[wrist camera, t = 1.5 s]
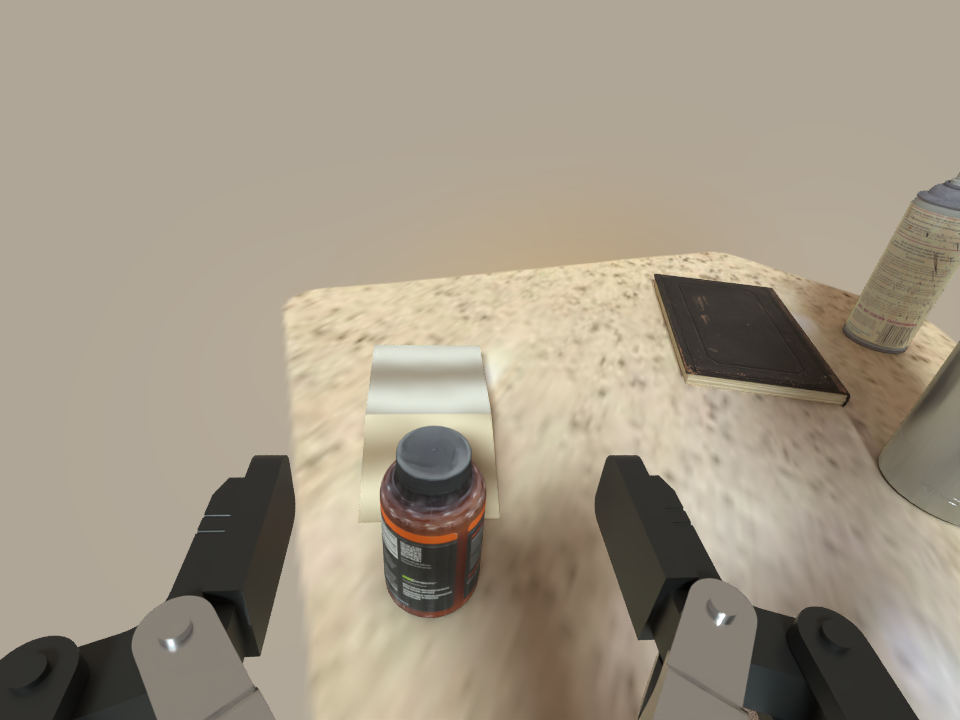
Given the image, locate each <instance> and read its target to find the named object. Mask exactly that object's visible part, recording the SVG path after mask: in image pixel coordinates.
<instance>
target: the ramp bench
mask: <svg viewBox="0 0 960 720" xmlns="http://www.w3.org/2000/svg"><path fill="white" fill-rule="evenodd" d="M425 426H443V427H447V428H451V429H453V430H456V431H458V432H459V433H461V434H462V435H463V436H464V437H465V438H466V439H467V440H468V442H469V444H470V447H471V450H472V459H471V460H472V461H473V462H474V463H475V464H476V465H477V466H478V468H479V469H480V471H481V473H482V474H483V477H484V480H485V484H486V505H485V516H484V519H498V518H500V513H499V501H498V489H497V477H496V465H495V453H494V441H493V429H492V417H491V410H490V404H489V398H488V392H487V386H486V380H485V374H484V368H483V362H482V357H481V351H480V346H437V345H374V353H373V361H372V369H371V377H370V384H369V392H368V400H367V408H366V418H365V432H364V447H363V462H362V476H361V491H360V506H359V520H358V523H361V522H381V510H380V486H381V482H382V479H383V477H384V475H385V473H386V470H387V469H388V468H389V466H390V465H391V464H392V463H393V462H394V461H395V460H396V449H397V446H398V443H399V441H400V440H401V439H402V438H403V437H404V436H405V435H406V434H407V433H409V432H411V431H413V430H415V429H418V428H421V427H425Z"/></svg>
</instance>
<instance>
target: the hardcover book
mask: <svg viewBox="0 0 960 720" xmlns="http://www.w3.org/2000/svg"><path fill="white" fill-rule="evenodd" d="M654 277H655V280H656V282H655V289H656V292H657V296H658V299H659V302H660V305H661V308H662V311H663V315H664V318H665V321H666V324H667V327H668V330H669V333H670V337H671V340H672V343H673V346H674V349H675V352H676V356H677V359H678V362H679V365H680V368H681V371H682V375H683V378H684V381H685V384H690V385H697V386H705V387H712V388H719V389H727V390H734V391H741V392H749V393H756V394H763V395H771V396H778V397H785V398H793V399H800V400H807V401H815V402H822V403H829V404H837V405H842V406H843V407H844V406H845V405H846V404H847V402H848V401H849V399H850V394H849V393H848V391H847V390H846V389H845V387H844V386H843V384H842V383H841V382H840V380H839V379H838V378H837V376H836V375H835V373H834V372H833V371H832V369H831V368H830V367H829V365H828V364H827V362H826V361H825V360H824V358H823V357H822V356H821V354H820V353H819V352H818V350H817V349H816V347H815V346H814V345H813V343H812V342H811V341H810V339H809V338H808V336H807V335H806V334H805V332H804V331H803V330H802V328H801V327H800V325H799V324H798V323H797V321H796V320H795V319H794V317H793V316H792V315H791V313H790V312H789V310H788V309H787V308H786V306H785V305H784V304H783V302H782V301H781V299H780V298H779V297H778V295H777V294H776V293H775V291H774V290H773V289H772V288H768V287H760V286H751V285H743V284H735V283H727V282H719V281H710V280H702V279H694V278H686V277H677V276H669V275H661V274H654Z"/></svg>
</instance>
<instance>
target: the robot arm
mask: <svg viewBox="0 0 960 720" xmlns="http://www.w3.org/2000/svg"><path fill="white" fill-rule="evenodd" d="M878 462H879V468H880V470H881V472H882V474H883V475H884V477H885V478H886V479H887V481H888V482H889V483H890V484H891V485H892V486H893V487H894V488H895V489H896V490H897V491H898V492H899V493H900V494H901V495H902V496H904V497H905V498H906V499H907V500H909V501H910V502H912V503H913V504H915V505H916V506H918V507H919V508H921V509H922V510H924V511H926V512H928V513H930V514H932V515H934V516H936V517H938V518H940V519H942V520H945V521H947V522H950V523H952V524H955V525H958V526H960V341H959V342H958V344H957V345H956V347H955V348H954V350H953V351H952V352H951V354H950V355H949V357H948V358H947V360H946V361H945V362H944V364H943V365H942V367H941V368H940V369H939V371H938V372H937V374H936V375H935V377H934V378H933V379H932V381H931V382H930V384H929V385H928V387H927V388H926V389H925V391H924V392H923V394H922V395H921V397H920V398H919V399H918V401H917V402H916V404H915V405H914V407H913V408H912V409H911V411H910V412H909V414H908V415H907V417H906V418H905V419H904V420H903V422H902V423H901V425H900V426H899V427H898V429H897V430H896V432H895V433H894V435H893V436H892V437H891V439H890V440H889V442H888V443H887V445H886V446H885V447H884V449H883V450H882V452H881V453H880V455H879V459H878ZM595 514H596V519H597V522H598V525H599V528H600V531H601V534H602V536H603V539H604V542H605V545H606V548H607V551H608V554H609V557H610V560H611V563H612V566H613V569H614V571H615V574H616V577H617V580H618V583H619V586H620V589H621V592H622V595H623V598H624V601H625V604H626V606H627V609H628V612H629V615H630V618H631V621H632V624H633V627H634V630H635V633H636V636H637V638H638V640H653V639H654V640H655V642H656V645H657V648H658V650H659V652H658V654H657V657H656V659H655V662H654V665H653V668H652V671H651V674H650V677H649V680H648V683H647V686H646V689H645V692H644V695H643V698H642V701H641V704H640V707H639V709H638V712H637V715H636V718H635V720H749V715H748V712H747V711H745V710H744V709H743V707H744V708H748V709H751V710H754V711H756V712H757V714H758V717H759V719H760V720H919V719H918V718H917V716H916V714H915V713H914V711H913V710H912V708H911V707H910V705H909V704H908V702H907V701H906V699H905V697H904V696H903V694H902V693H901V691H900V690H899V688H898V687H897V685H896V684H895V682H894V681H893V679H892V677H891V676H890V674H889V673H888V671H887V670H886V668H885V667H884V665H883V664H882V662H881V661H880V659H879V657H878V656H877V654H876V653H875V651H874V650H873V648H872V647H871V645H870V644H869V642H868V641H867V639H866V638H865V636H864V635H863V634H862V632H861V631H860V630H859V629H858V628H857V627H856V626H855V625H854V624H853V623H852V622H850V621H849V620H848V619H846V618H845V617H843V616H842V615H840V614H838V613H836V612H834V611H832V610H829V609H827V608H823V607H808V608H805V609H804V610H802V611H801V612H800V614H799V615H798V616H797V618H793V617H789V616H786V615H782V614H778V613H775V612H771V611H767V610H764V609H760V608H757V607H755V606H753V605H752V604H751V603H750V601H749V600H748V599H747V598H746V596H745V595H744V594H743V593H742V592H740V591H739V590H738V589H737V588H735V587H734V586H732V585H730V584H729V583H726V582H724V581H722V580H721V578H720V576H719V574H718V573H717V571H716V569H715V567H714V565H713V563H712V561H711V559H710V557H709V555H708V554H707V552H706V550H705V548H704V546H703V544H702V542H701V540H700V538H699V536H698V535H697V533H696V531H695V529H694V527H693V525H691V521H690V519H689V517H688V516H687V514H686V512H685V511H684V510H683V506H682V504H681V502H680V500H679V498H678V496H677V495H676V493H675V491H674V490H673V489H672V488H671V487H670V486H669V485H668V484H667V483H666V482H665V481H664V480H663V479H662V478H661V477H660V476H659V475H655V476H649V474H648V472H647V470H646V468H645V466H644V464H643V461H642V460H641V458H640V457H639V456H637V455H610V456H608V457H607V459H606V461H605V465H604V468H603V472H602V475H601V478H600V482H599V485H598V489H597V492H596V496H595ZM204 515H205V516H204V518H202V521H201V523H200V525H199V527H198V533H197V534H195V537H194V539H193V542H192V544H191V546H190V549H189V551H188V553H187V555H186V558H185V560H184V562H183V564H182V567H181V569H180V572H179V574H178V576H177V578H176V581H175V583H174V585H173V588H172V590H171V592H170V594H169V596H168V598H167V599H166V601H165V602H164V603H162V604H160V605H159V606H157V607H156V608H154V609H153V610H152V611H151V612H149V613H148V614H147V615H146V616H145V617H144V619H143V620H142V621H141V622H140V624H139V625H138V626H136V627H134V628H132V629H130V630H128V631H126V632H123V633H121V634H117V635H114V636H111V637H108V638H105V639H102V640H99V641H95V642H92V643H89V644H86V645H83V646H80V647H77V646H76V644H75V643H74V642H73V641H72V640H70V639H69V638H66V637H62V636H48V637H42V638H38V639H35V640H32V641H30V642H27V643H25V644H24V645H21V646H20V647H18V648H16V649H15V650H13V651H12V652H10V653H9V654H7V655H6V656H5V657H4V658H2V659H1V660H0V720H275V718H274V716H273V714H272V712H271V710H270V708H269V706H268V704H267V703H266V701H265V699H264V697H263V695H262V694H261V692H260V690H259V689H258V688H257V687H255V686H254V684H253V683H252V681H251V679H250V677H249V676H248V673H247V671H246V670H245V668H244V666H243V660H244V657H256V656H260V655H261V651H262V647H263V643H264V639H265V635H266V631H267V627H268V623H269V619H270V615H271V611H272V607H273V603H274V599H275V595H276V591H277V587H278V583H279V579H280V576H281V572H282V568H283V564H284V559H285V555H286V552H287V547H288V544H289V539H290V536H291V532H292V528H293V523H294V517H295V495H294V488H293V482H292V475H291V469H290V463H289V458H288V456H287V455H257V456H256V455H255V456H254V457H253V458H252V460H251V463H250V465H249V468H248V470H247V473H246V476H245V478H229V479H228V480H227V481H226V482H225V483H224V484H223V485H222V486H221V487H220V488H219V489H218V490H217V491H216V492H215V493H214V494H213V495H212V497H211V500H210V502H209V505H208V507H207V509H206V511H205V514H204Z"/></svg>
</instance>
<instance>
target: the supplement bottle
mask: <svg viewBox="0 0 960 720" xmlns="http://www.w3.org/2000/svg"><path fill="white" fill-rule="evenodd" d="M471 459H472V450H471V447H470V444H469V442H468V440H467V439H466V438H465V437H464V436H463V435H462V434H461V433H459V432H458V431H456V430H453V429H451V428H447V427H443V426H425V427H421V428H418V429H415V430H413V431H411V432H409V433H407V434H406V435H405V436H404V437H403V438H402V439H401V440H400V441H399V443H398V446H397V449H396V460H395V461H394V462H393V463H392V464H391V465H390V466H389V468H388V469H387V470H386V473H385V475H384V477H383V479H382V482H381V486H380V510H381V523H382V539H383V554H384V572H385V578H386V585H387V589H388V592H389V594H390V595H391V597H392V599H393V600H394V602H395V603H396V604H397V605H398V606H399V607H401V608H402V609H404V610H405V611H406V612H408V613H410V614H413V615H416V616H419V617H428V618H435V617H441V616H444V615H447V614H450V613H452V612H454V611H456V610H457V609H459V608H460V607H462V606H463V605H464V604H465V603H466V602H467V601H468V600H469V598H470V597H471V596H472V594H473V592H474V590H475V587H476V584H477V580H478V575H479V567H480V556H481V547H482V537H483V526H484V516H485V505H486V484H485V480H484V477H483V474H482V473H481V471H480V469H479V468H478V466H477V465H476V464H475V463H474V462H473V461H472V460H471Z"/></svg>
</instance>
